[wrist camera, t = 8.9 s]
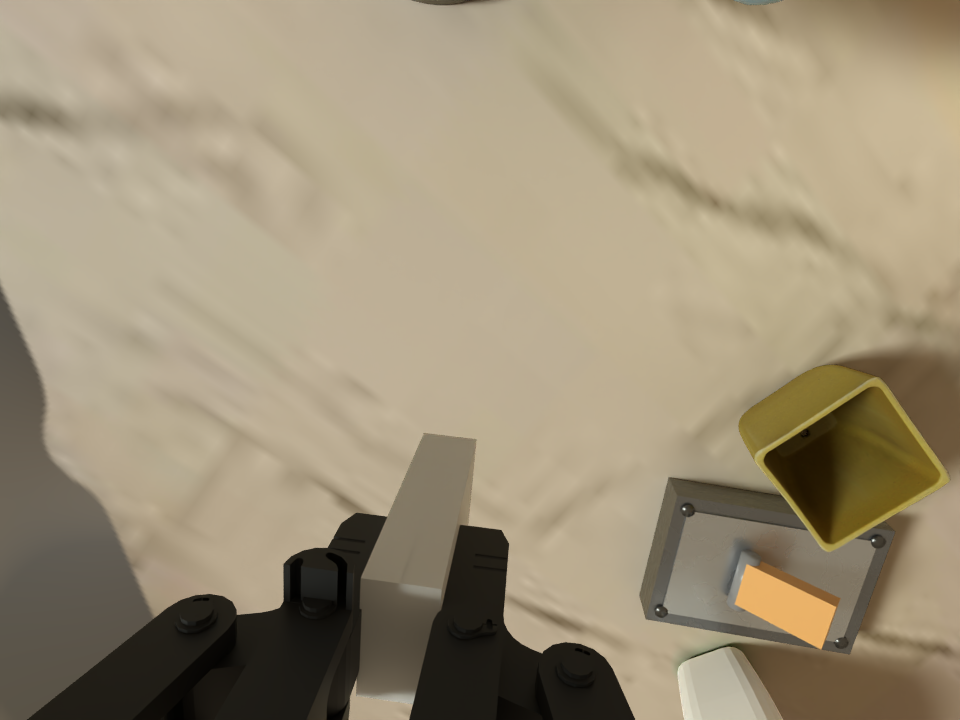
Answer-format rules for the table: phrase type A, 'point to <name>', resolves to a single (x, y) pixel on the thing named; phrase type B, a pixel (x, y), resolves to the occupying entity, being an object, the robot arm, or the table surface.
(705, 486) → the panel
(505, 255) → the table surface
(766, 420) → the flower pot
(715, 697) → the cup
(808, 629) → the paddle
